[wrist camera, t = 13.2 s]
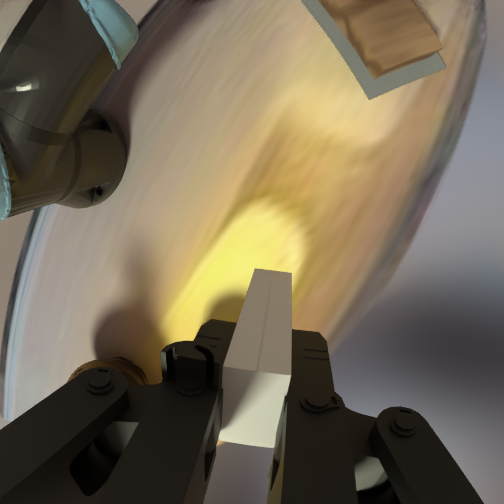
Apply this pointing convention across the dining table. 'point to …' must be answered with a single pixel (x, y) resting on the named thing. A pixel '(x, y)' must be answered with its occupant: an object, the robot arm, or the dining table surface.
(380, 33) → the walnut slab
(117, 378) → the robot arm
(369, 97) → the slate mat
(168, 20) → the dining table surface
